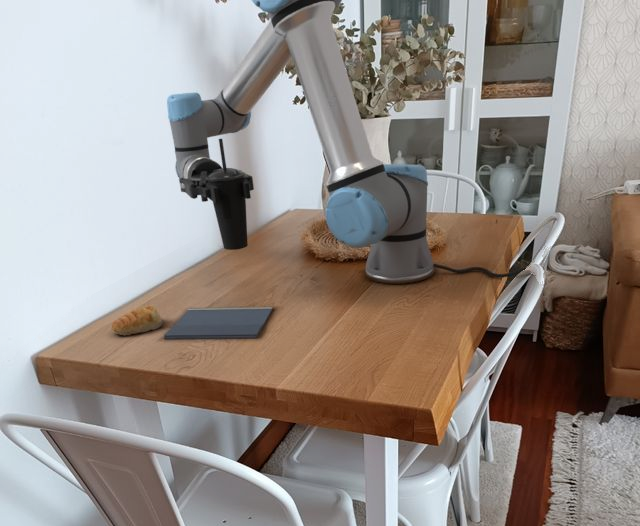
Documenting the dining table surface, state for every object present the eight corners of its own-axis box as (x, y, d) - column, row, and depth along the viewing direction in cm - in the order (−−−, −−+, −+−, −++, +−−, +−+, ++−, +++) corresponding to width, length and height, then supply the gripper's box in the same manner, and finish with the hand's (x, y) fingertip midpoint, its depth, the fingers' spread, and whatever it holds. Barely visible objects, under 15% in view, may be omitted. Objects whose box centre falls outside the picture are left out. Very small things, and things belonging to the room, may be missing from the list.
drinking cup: (262, 245, 125) (248, 136, 114) (229, 254, 121) (212, 142, 110) (241, 239, 130) (227, 135, 119) (210, 247, 126) (192, 140, 116)
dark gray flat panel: (273, 308, 126) (273, 305, 126) (257, 338, 114) (256, 334, 113) (189, 310, 129) (188, 306, 129) (164, 339, 117) (163, 335, 116)
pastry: (121, 340, 117) (116, 322, 115) (107, 331, 122) (102, 313, 120) (165, 326, 122) (161, 308, 120) (151, 318, 127) (147, 300, 125)
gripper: (247, 188, 138) (281, 206, 120) (166, 200, 133) (187, 221, 114) (243, 152, 134) (276, 165, 116) (158, 163, 129) (179, 178, 110)
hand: (232, 193), depth 115 cm, fingers closed on drinking cup, 5 cm apart
